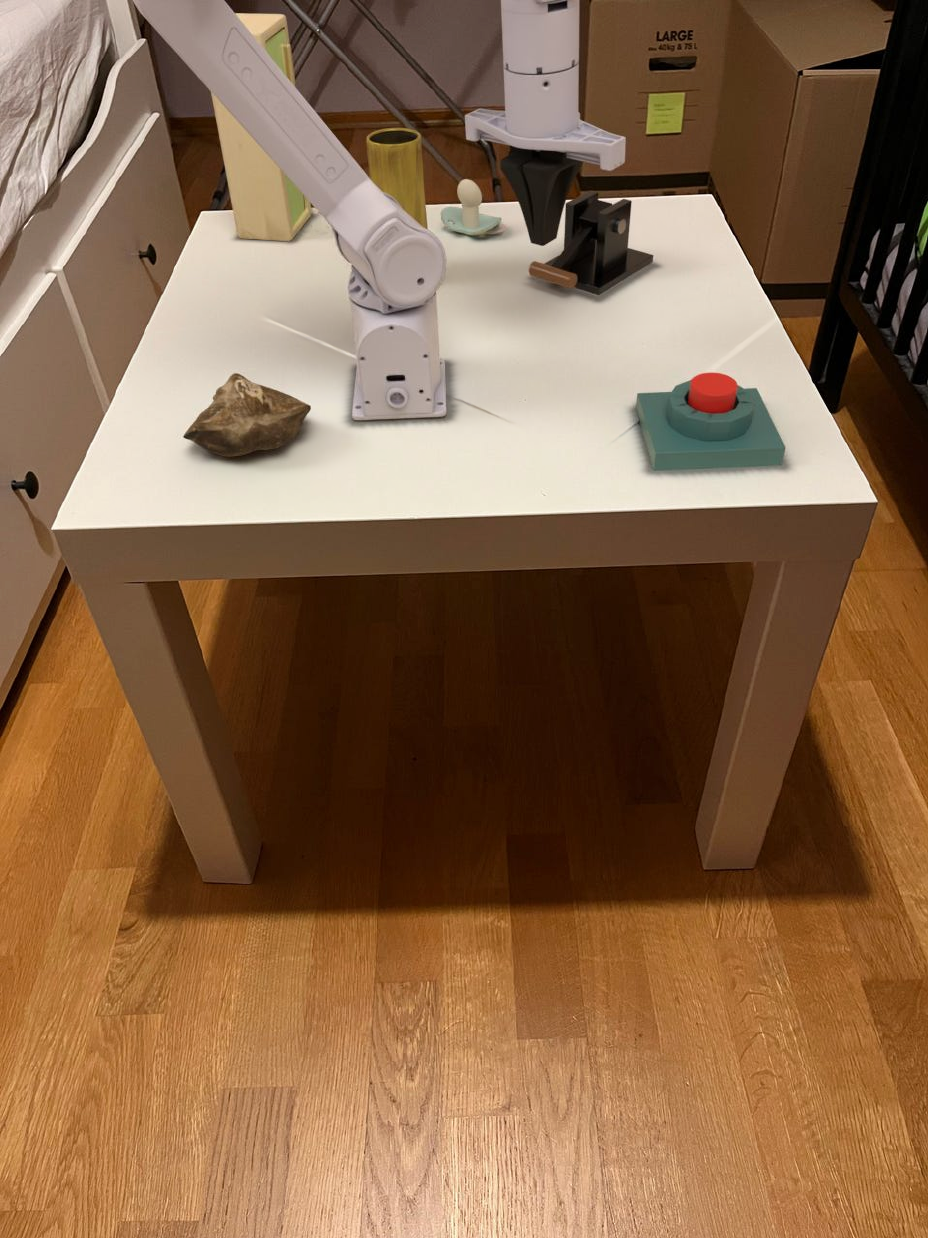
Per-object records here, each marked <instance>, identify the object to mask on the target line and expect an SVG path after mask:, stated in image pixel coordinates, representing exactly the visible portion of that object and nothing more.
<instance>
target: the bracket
mask: <svg viewBox="0 0 928 1238" xmlns="http://www.w3.org/2000/svg"><path fill="white" fill-rule="evenodd" d="M594 199H597V200H599V192H598V191H596V190H588V191H587V192H585V193H583V194H580V195H579V196H577V197H574V198H573V199H571V200H569V201H567V202H565V207H564V208H565V213H564V233H563V234H564V235H563V236H564V237H563V238H564V239H563V250H564V249H565V248H566V247H567V246H568V244H569V243H570V242H571V241H572V239H573V238H574V237H575V236H576V235H577V233H578V232H579V231H580V230H581V224H580V219H579V217H580V216H581V215H582V213H583V212H584V211H585V210H586V208H587V207H588V206H589V205H590V204H591V202H592V201H593V200H594ZM632 203H633V201H632V200H630V199H626V198H622V199H620V200H619V201H617V202H615V203H612V205H611V206H609V207H607V208H605V209H604V210H602V211H600V212H599V214H598V230H597V240H595V239H591V240H590V241H589V242H588V244H587V245H586V246H585V247H584V249H583V250H582V251H581V252H580V253H579V255H578V256H577V257H576V258H575V260H574V261H573V262H572V263H571V265H570V266H569V267H568V268H567V269H566V271H568V272H571V273H574V274H576V275H577V283H576V285H575V287H574V288H573V289H577V290H581V291H583V292H587V293H590V294H593V295H596V296H600V295H601V294H603V293H605V292H607V291H608V290H610V289H612V288H613V287H615V286H616V285H618V284H620V283H621V282H622V281H625V280H626V279H628V278H629V277H631V276H633V275H634V274H636V273H637V272H639V271H641V270H643V269H644V268H646V267H647V266H649V265H650V264H652V263H653V262H654V254H650V253H647V252H644V251H641V250H637V249H634V248H631V247H629V240H630V239H629V237H630V227H631V215H632V214H631V213H632ZM558 257H559V255H557V256H555V257H554V258H552V259H550V260H548V261H546V262H545V263H543V264H546V265H549V266H551V265H552V264H553V263H554V261H555V260H556V259H557V258H558Z"/></svg>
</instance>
